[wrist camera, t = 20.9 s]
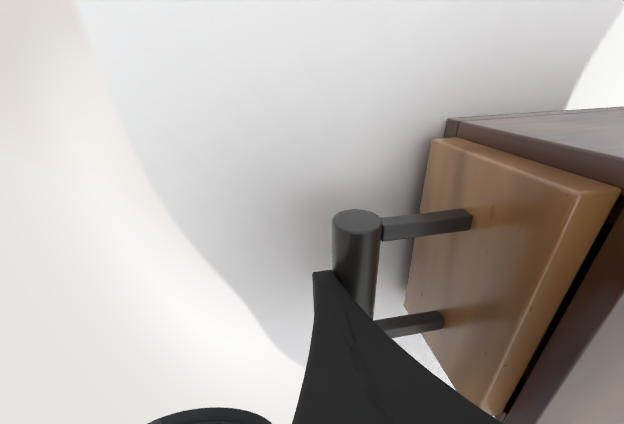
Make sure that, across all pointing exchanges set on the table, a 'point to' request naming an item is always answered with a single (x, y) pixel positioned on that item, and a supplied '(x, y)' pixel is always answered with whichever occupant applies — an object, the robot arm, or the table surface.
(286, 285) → the table surface
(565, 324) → the cabinet
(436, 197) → the drawer
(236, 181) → the table surface
